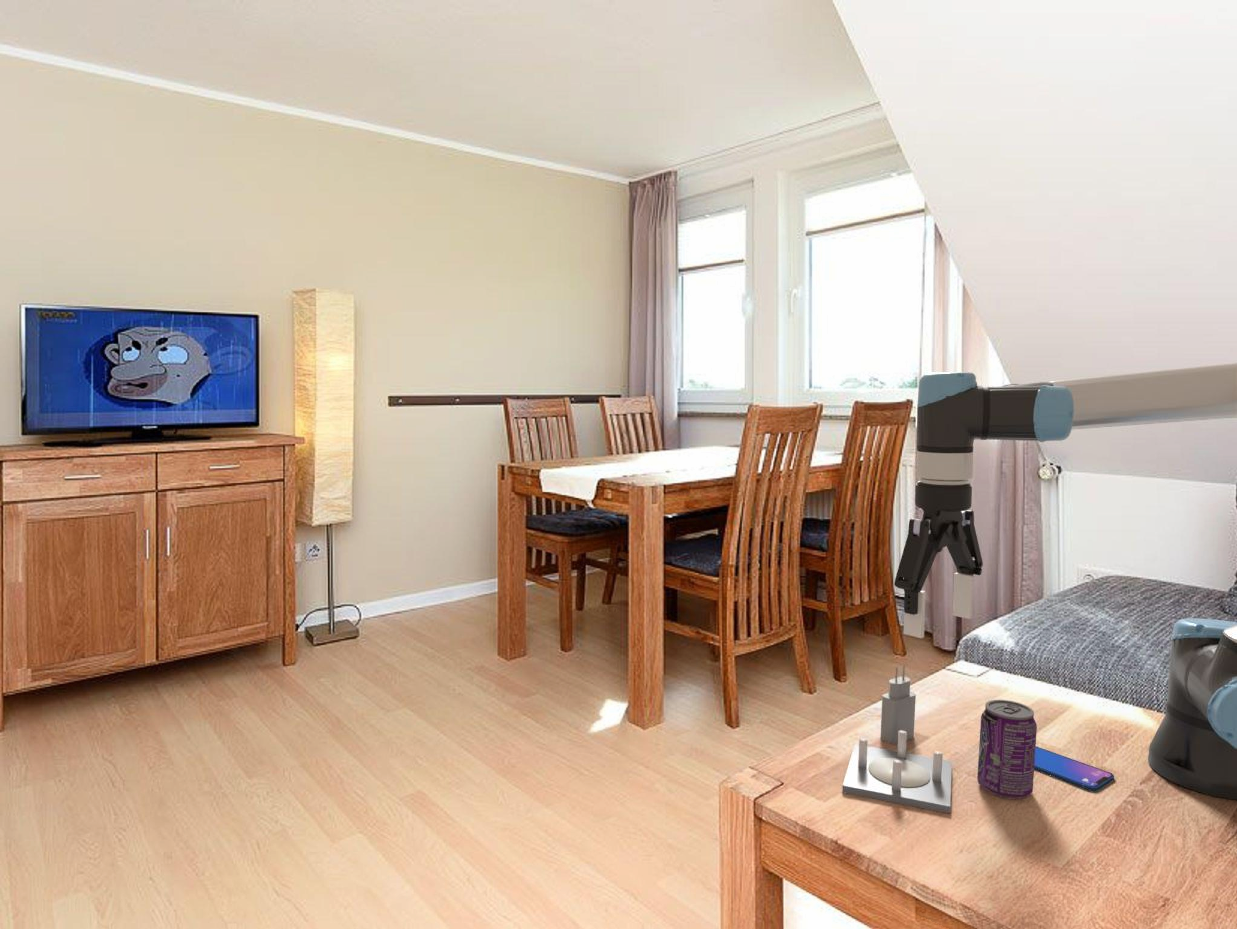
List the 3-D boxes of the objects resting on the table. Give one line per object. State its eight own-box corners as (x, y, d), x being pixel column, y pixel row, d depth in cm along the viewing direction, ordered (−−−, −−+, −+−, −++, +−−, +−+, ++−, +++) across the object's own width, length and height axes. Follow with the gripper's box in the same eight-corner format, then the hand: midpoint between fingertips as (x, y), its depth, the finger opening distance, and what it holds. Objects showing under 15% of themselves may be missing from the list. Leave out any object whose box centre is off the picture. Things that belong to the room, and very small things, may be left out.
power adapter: (878, 737, 131) (881, 666, 129) (899, 729, 134) (902, 659, 132) (894, 745, 128) (898, 672, 127) (915, 736, 131) (919, 665, 130)
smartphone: (1015, 738, 130) (1117, 774, 118) (1015, 743, 130) (1116, 780, 118) (991, 750, 126) (1094, 789, 114) (991, 756, 126) (1093, 795, 114)
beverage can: (989, 772, 119) (994, 694, 118) (1040, 790, 114) (1045, 709, 113) (968, 788, 115) (972, 707, 113) (1020, 808, 110) (1025, 723, 108)
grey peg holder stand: (951, 767, 121) (953, 735, 120) (949, 813, 108) (951, 778, 108) (854, 749, 126) (856, 719, 126) (842, 792, 114) (843, 758, 113)
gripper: (962, 471, 126) (957, 604, 128) (870, 486, 110) (866, 637, 112) (1010, 475, 120) (1005, 614, 122) (921, 491, 104) (916, 651, 107)
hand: (938, 626), depth 117 cm, fingers open, 13 cm apart
